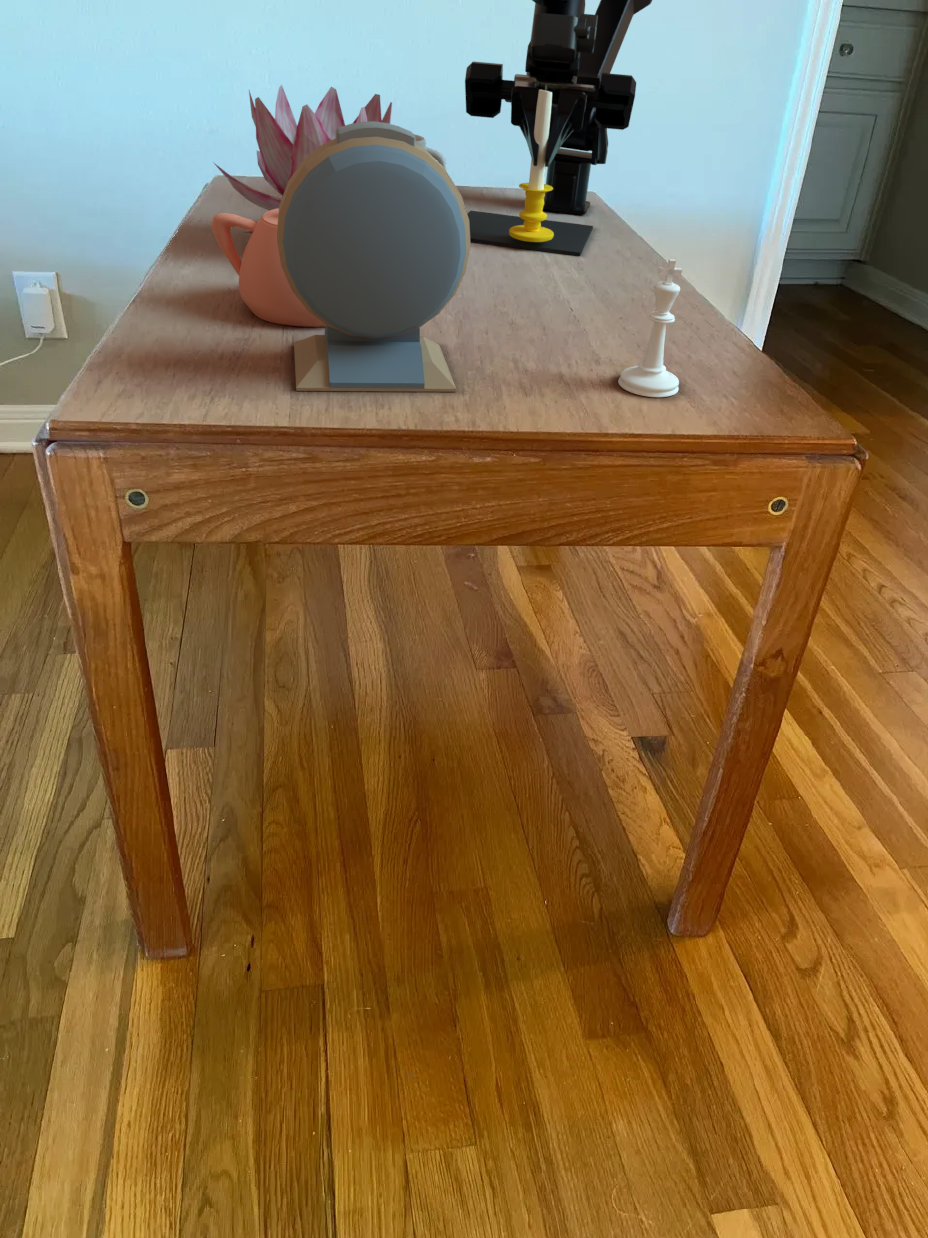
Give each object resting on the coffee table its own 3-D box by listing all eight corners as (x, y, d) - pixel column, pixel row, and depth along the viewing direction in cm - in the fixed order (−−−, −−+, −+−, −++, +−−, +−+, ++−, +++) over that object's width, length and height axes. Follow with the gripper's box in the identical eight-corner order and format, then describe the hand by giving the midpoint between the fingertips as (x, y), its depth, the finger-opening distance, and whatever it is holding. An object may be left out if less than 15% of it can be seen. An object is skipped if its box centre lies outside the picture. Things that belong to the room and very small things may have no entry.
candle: (525, 227, 114) (539, 79, 105) (561, 236, 111) (579, 86, 102) (500, 234, 110) (512, 82, 101) (536, 244, 108) (552, 89, 99)
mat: (470, 213, 123) (470, 210, 123) (592, 228, 121) (593, 225, 121) (445, 238, 112) (445, 234, 111) (580, 255, 110) (580, 252, 109)
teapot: (231, 282, 92) (223, 176, 86) (416, 296, 93) (420, 192, 87) (202, 323, 82) (192, 206, 77) (410, 338, 83) (415, 223, 77)
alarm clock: (450, 347, 82) (465, 117, 71) (469, 391, 74) (488, 140, 64) (281, 345, 79) (272, 106, 69) (282, 390, 71) (271, 129, 61)
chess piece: (612, 373, 79) (633, 249, 74) (669, 375, 80) (694, 252, 74) (625, 396, 75) (648, 267, 70) (685, 398, 76) (713, 270, 70)
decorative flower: (182, 258, 97) (166, 92, 89) (280, 217, 114) (274, 74, 106) (374, 292, 93) (377, 120, 84) (447, 244, 109) (456, 96, 101)
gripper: (472, -28, 100) (454, 106, 97) (650, -13, 99) (636, 122, 97) (474, 51, 111) (458, 173, 108) (634, 65, 110) (621, 188, 108)
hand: (541, 163), depth 105 cm, fingers closed on candle
